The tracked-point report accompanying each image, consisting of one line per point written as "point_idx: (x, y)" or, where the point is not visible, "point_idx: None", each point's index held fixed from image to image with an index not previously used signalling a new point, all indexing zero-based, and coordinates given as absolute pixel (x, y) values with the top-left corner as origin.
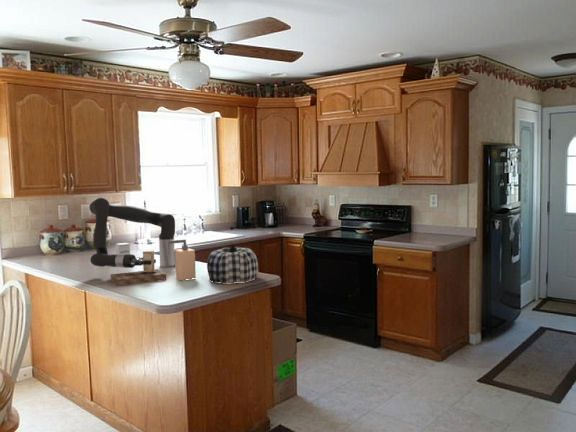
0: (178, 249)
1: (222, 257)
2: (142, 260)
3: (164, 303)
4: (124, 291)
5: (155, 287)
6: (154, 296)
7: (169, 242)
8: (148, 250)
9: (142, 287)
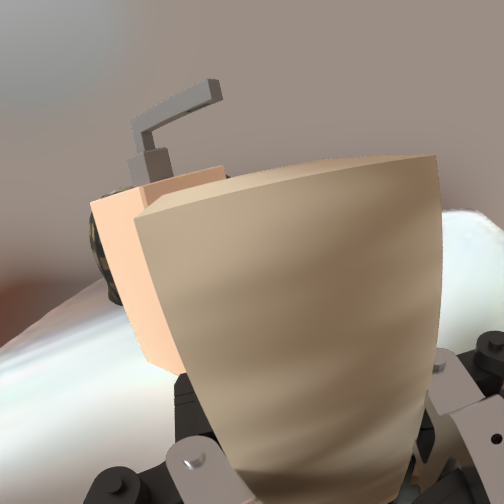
0: (130, 189)
1: (228, 176)
2: (454, 366)
3: (468, 215)
4: None
5: (441, 303)
6: (477, 240)
7: (210, 91)
8: (156, 204)
9: (495, 326)
